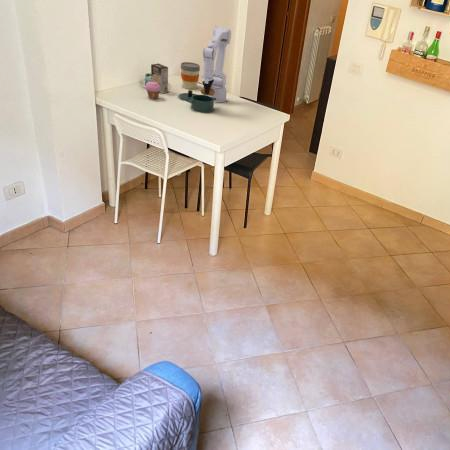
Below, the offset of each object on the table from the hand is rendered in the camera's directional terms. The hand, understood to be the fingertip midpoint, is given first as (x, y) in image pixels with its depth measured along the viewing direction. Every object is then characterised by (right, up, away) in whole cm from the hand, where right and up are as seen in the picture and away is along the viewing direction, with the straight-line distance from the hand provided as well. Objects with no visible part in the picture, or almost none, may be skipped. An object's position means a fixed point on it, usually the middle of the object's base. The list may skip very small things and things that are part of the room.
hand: (207, 92), depth 259 cm
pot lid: (-15, +2, +18) cm, 23 cm away
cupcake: (-35, -1, +7) cm, 36 cm away
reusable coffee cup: (-20, +15, +37) cm, 45 cm away
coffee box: (-35, +7, +20) cm, 41 cm away
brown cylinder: (0, -1, +1) cm, 2 cm away
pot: (-4, -8, +5) cm, 11 cm away
